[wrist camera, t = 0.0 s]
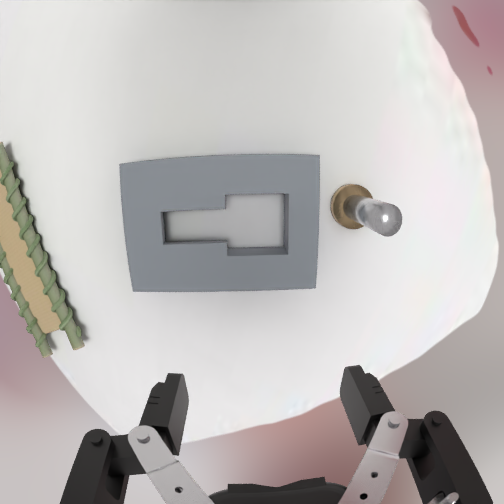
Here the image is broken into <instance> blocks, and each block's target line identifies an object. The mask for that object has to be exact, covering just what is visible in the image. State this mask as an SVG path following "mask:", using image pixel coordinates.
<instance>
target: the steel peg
mask: <svg viewBox="0 0 504 504" xmlns="http://www.w3.org/2000/svg"><path fill="white" fill-rule="evenodd" d="M331 212H332V215H333V217H334V219H335V220H336V221H337V222H338V223H339V224H341V225H342V226H344V227H346V228H349V229H358V228H361V227H363V226H366V227H367V228H369V229H371V230H373V231H375V232H377V233H379V234H381V235H383V236H392V235H394V234H395V233H397V232H398V230H399V229H400V227H401V224H402V214H401V212H400V210H399V208H398V207H396V206H395V205H393V204H389V203H385V202H382V201H378V200H374V199H373V198H372V196H371V194H370V192H369V191H368V190H367V189H365V188H364V187H362V186H359V185H354V184H348V185H344V186H342V187H340V188H339V189H338V190H337V191H336V192H335V193H334V195H333V197H332V200H331Z"/></svg>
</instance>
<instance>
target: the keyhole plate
mask: <svg viewBox="0 0 504 504" xmlns="http://www.w3.org/2000/svg"><path fill="white" fill-rule="evenodd" d="M120 185H121V200H122V212H123V223H124V232H125V241H126V249H127V256H128V263H129V270H130V276H131V282H132V288H133V292H219V291H262V290H289V289H312V288H316V275H317V258H318V235H319V197H320V155H302V154H238V155H212V156H195V157H181V158H169V159H158V160H149V161H140V162H131V163H124V164H120ZM229 194H284V247H250V248H227V241H194V242H165V232H164V220H163V212H165V211H184V210H207V209H226V195H229Z"/></svg>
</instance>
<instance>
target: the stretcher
mask: <svg viewBox="0 0 504 504" xmlns="http://www.w3.org/2000/svg"><path fill="white" fill-rule="evenodd" d="M13 166H14V163H13V161H12V162H10V161H9V158H8V156H7V153H6V150H5V148H4V145H3V142H0V268H3V271H4V274H5V277H4V283H6V284H8V285H10V288H11V290H12V292H13V293H12V294H11V298H12V300H14V301H17V303H18V305H19V308H20V310H19V315H20V316H21V317H24V318H25V320H26V322H27V324H28V326H27V328H26V330H27V331H28V333H30V334H33V336H34V338H35V339H36V347H39V349H40V352H41V354H42V356H43V358H45V357H48V356H50V355H52V354H53V353H52V351H51V348H50V346H49V344H48V342H47V339H46V336H47V333H50V332H53V331H56V330H59V329H60V330H63V331H64V330H65V331H66V334H67V336H68V339H69V341H70V343H71V346H72V348H73V350H77V349H80V348H82V347H84V346H85V345H84V343H83V340H82V338H81V329H80V327H79V326H76V324H75V322H74V320H73V318H72V315H73V312H72V309H71V308H70V307H67V306H66V304H65V302H64V300H65V292H64V290H63V289H60V288H58V286H57V284H56V282H55V279H56V274H55V271H53V270H50V268H49V266H48V263H47V260H48V255H47V252H45V251H42V248H41V246H40V243H39V241H40V236H39V234H37V233H35V231H34V228H33V226H32V221H33V217H32V215H30V214H28V213H27V210H26V207H25V204H26V198H25V197H22V196H21V194H20V191H19V188H18V186H19V184H20V180H19V179H18V178H16V179H15V177H14V174H13V171H12V167H13Z"/></svg>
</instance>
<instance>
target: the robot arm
mask: <svg viewBox="0 0 504 504" xmlns="http://www.w3.org/2000/svg"><path fill="white" fill-rule="evenodd" d="M340 397H341V401H342V403H343V406H344V408H345V411H346V414H347V416H348V419H349V421H350V424H351V426H352V429H353V432H354V434H355V437H356V440H357V443H358V445H363V444H366V445H367V450H366V452H365V454H364V456H363V458H362V460H361V462H360V464H359V466H358V468H357V470H356V472H355V474H354V476H353V478H352V480H351V481H350V483H349V485H348V487H345V486H343V485H339V484H336V483H330V482H325V478H324V477H320V478H313V479H307V480H300V481H297V482H294V483H291V484H288V485H284V486H281V487H269V486H262V485H256V484H228V489H227V490H222V491H219V492H216V493H214V494H212V495H210V496H207V495H206V493H205V492H204V491H203V490H202V489H201V488H200V487H199V485H198V484H197V483H196V482H195V480H194V479H193V478H192V477H191V475H190V474H189V473H188V472H187V470H186V469H185V468H184V466H183V465H182V464H181V463H180V462H179V461H177V460H176V459H175V457H174V456H173V455H177V456H178V455H179V452H180V446H181V441H182V436H183V431H184V425H185V420H186V415H187V410H188V404H189V398H188V392H187V387H186V383H185V378H184V375H183V374H175V373H168V375H167V377H166V380H165V383H161V382H158V383H157V384H156V385H155V386H154V387H153V388H152V390H151V393H150V395H149V398H148V401H147V404H146V407H145V409H144V412H143V415H142V418H141V421H140V424H139V426H137V427H135V428H133V429H132V430H131V431H130V432H129V434H126V435H118V436H110V435H109V433H107V432H106V431H105V430H101V429H94V430H91V431H89V432H87V433H86V434H85V436H84V438H83V440H82V443H81V445H80V448H79V451H78V453H77V456H76V459H75V461H74V464H73V466H72V469H71V472H70V475H69V478H68V480H67V483H66V486H65V489H64V492H63V495H62V499H61V502H60V504H124V499H125V494H126V489H127V484H128V479H129V475H136V474H147V475H148V477H149V478H150V480H151V481H152V483H153V484H154V486H155V488H156V489H157V491H158V492H159V494H160V495H161V497H162V498H163V500H164V501H165V503H166V504H380V503H381V501H382V499H383V497H384V495H385V492H386V490H387V488H388V485H389V483H390V480H391V478H392V476H393V473H394V471H395V468H396V466H397V463H398V460H399V458H406V459H407V462H408V464H409V467H410V469H411V472H412V475H413V478H414V480H415V483H416V485H417V488H418V491H419V494H420V497H421V499H422V502H423V504H493V501H492V499H491V497H490V494H489V492H488V490H487V489H486V486H485V484H484V482H483V481H482V478H481V476H480V474H479V472H478V470H477V468H476V467H475V465H474V463H473V461H472V459H471V457H470V455H469V453H468V451H467V450H466V448H465V446H464V444H463V443H462V441H461V439H460V437H459V435H458V434H457V432H456V430H455V429H454V427H453V425H452V423H451V422H450V420H449V419H448V417H447V416H446V415H445V414H444V413H442V412H440V411H431V412H429V413H427V414H426V415H425V417H424V419H407V417H406V416H405V415H404V414H402V413H399V412H396V411H395V410H394V408H393V406H392V404H391V403H390V401H389V399H388V397H387V395H386V394H385V392H384V390H383V388H382V387H381V385H380V383H379V381H378V380H377V378H376V377H374V376H373V375H372V374H370V373H367V374H365V373H364V371H363V369H362V367H361V366H360V365H356V366H349V367H345V369H344V373H343V378H342V382H341V387H340Z"/></svg>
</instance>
